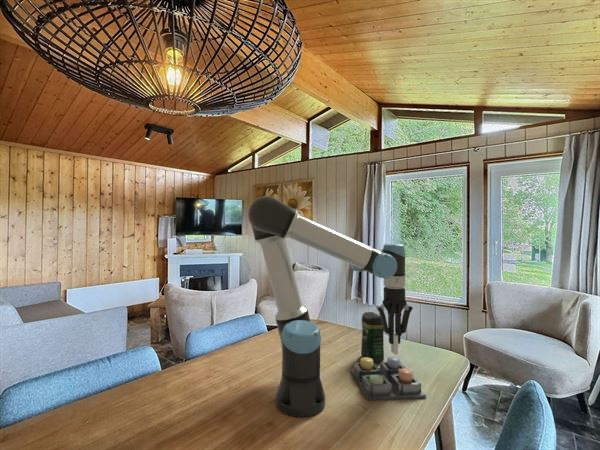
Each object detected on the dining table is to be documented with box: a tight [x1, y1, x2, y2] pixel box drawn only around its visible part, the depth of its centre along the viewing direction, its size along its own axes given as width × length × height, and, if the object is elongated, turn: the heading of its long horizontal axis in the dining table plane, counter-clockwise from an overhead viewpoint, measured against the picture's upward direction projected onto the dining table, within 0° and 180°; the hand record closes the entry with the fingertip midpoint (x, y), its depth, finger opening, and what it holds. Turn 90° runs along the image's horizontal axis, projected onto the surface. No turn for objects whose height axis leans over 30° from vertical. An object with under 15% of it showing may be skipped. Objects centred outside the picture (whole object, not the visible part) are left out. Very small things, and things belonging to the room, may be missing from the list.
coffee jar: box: [360, 311, 385, 364], centre depth 131 cm, size 10×8×19 cm
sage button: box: [370, 375, 383, 384], centre depth 104 cm, size 4×4×3 cm
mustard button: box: [360, 357, 373, 370], centre depth 114 cm, size 4×4×3 cm
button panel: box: [350, 361, 427, 401], centre depth 110 cm, size 19×20×4 cm
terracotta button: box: [399, 368, 414, 383], centre depth 106 cm, size 4×4×3 cm
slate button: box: [386, 356, 401, 369], centre depth 116 cm, size 4×4×3 cm
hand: (394, 352), depth 115 cm, fingers closed
